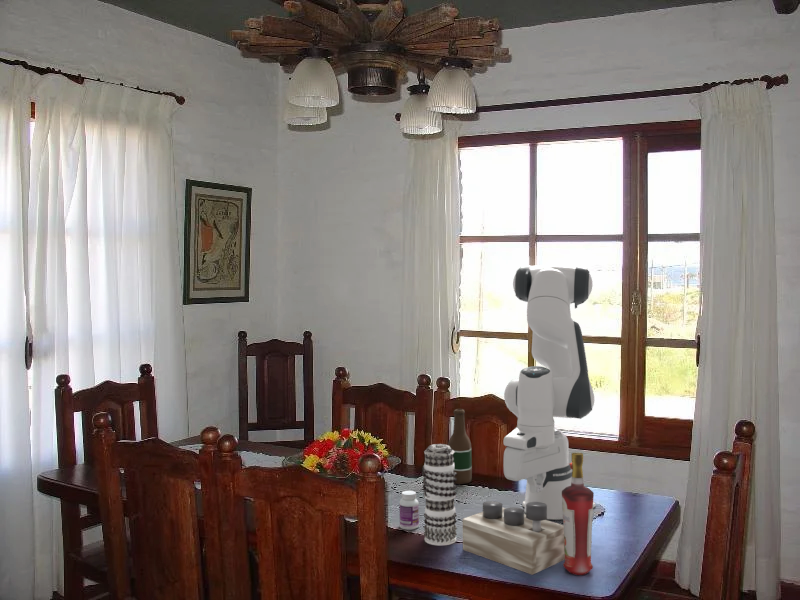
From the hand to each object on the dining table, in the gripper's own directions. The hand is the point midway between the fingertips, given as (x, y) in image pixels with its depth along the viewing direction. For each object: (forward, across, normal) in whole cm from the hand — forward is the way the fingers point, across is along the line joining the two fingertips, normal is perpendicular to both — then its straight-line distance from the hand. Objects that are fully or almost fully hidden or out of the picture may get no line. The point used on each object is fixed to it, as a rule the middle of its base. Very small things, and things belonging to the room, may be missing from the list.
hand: (536, 491), depth 186 cm
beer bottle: (+17, -37, -60) cm, 73 cm away
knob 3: (+11, 0, 0) cm, 11 cm away
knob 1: (+14, 0, -14) cm, 20 cm away
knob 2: (+14, 0, -7) cm, 16 cm away
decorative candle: (+18, +6, -27) cm, 33 cm away
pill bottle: (+18, +5, -40) cm, 44 cm away
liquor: (+18, -2, +10) cm, 20 cm away
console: (+17, 0, -7) cm, 19 cm away
